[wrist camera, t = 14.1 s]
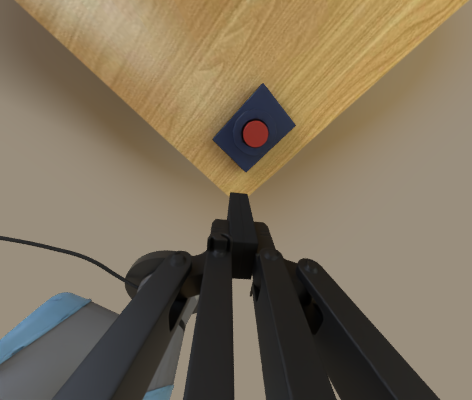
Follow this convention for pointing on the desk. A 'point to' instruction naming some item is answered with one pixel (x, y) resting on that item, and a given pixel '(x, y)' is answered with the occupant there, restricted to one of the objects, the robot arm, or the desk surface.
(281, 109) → the button block
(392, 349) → the robot arm
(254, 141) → the red button
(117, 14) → the desk surface
